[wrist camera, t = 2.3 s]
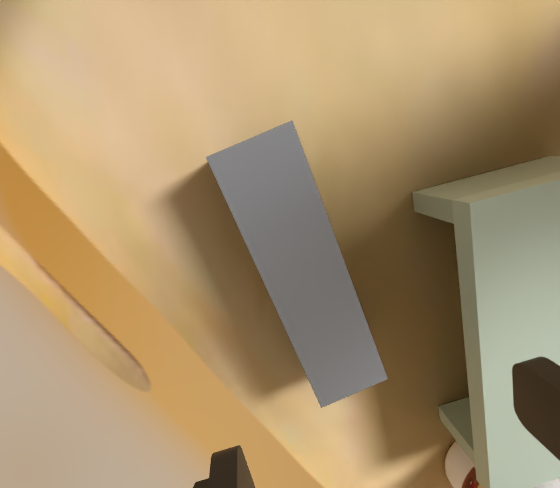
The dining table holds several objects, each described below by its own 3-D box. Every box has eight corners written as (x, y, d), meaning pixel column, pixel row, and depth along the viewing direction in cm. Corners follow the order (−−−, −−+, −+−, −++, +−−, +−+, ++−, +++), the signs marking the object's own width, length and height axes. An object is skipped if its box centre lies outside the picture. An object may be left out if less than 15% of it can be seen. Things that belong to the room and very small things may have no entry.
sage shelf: (555, 151, 24) (676, 148, 17) (554, 386, 30) (643, 452, 24) (405, 190, 24) (469, 203, 17) (434, 422, 30) (491, 499, 23)
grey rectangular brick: (281, 128, 22) (292, 120, 17) (362, 339, 27) (388, 379, 22) (213, 157, 22) (205, 157, 17) (307, 363, 27) (321, 407, 22)
